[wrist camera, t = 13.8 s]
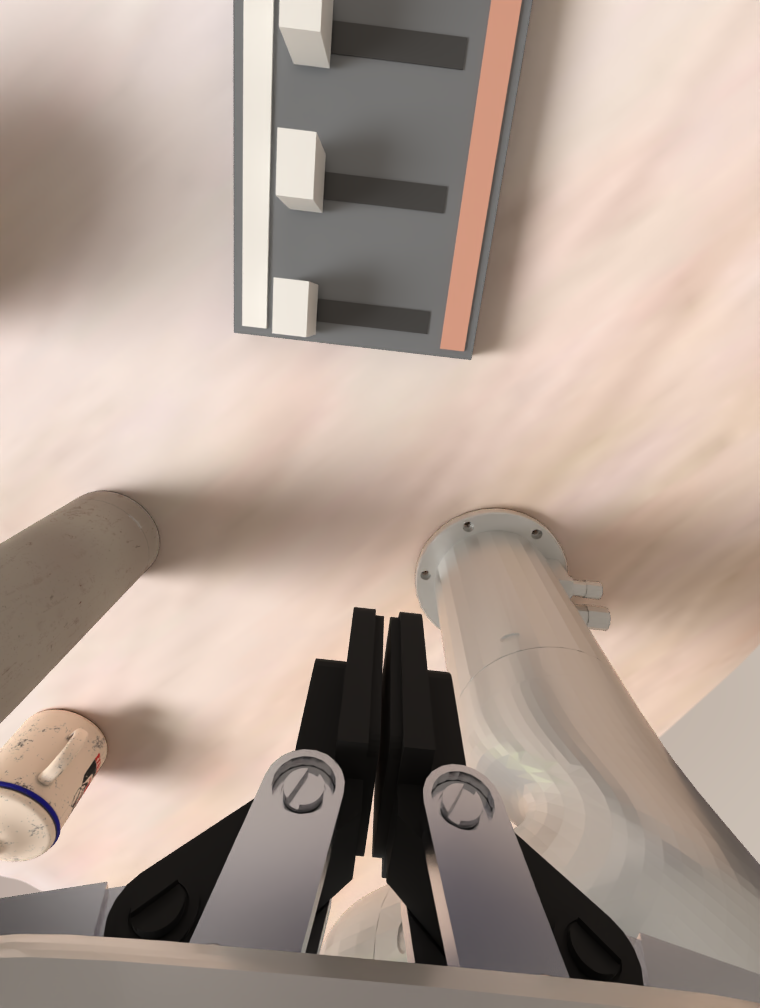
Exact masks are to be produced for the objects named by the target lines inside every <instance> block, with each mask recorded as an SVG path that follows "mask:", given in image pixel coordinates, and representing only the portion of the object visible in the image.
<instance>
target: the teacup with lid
mask: <svg viewBox="0 0 760 1008" xmlns="http://www.w3.org/2000/svg"><path fill="white" fill-rule="evenodd" d="M106 756H107V743H106V740H105V737H104V735H103V734H102V732H101V731H100V730H99V728H98V727H97V726H96V725H95V724H93V723H92V722H91V721H89V720H88V719H86V718H85V717H83V716H81V715H78V714H76V713H73V712H70V711H65V710H46V711H42V712H39V713H36V714H34V715H32V716H31V717H30V718H28V719H27V720H26V721H25V722H24V724H23V725H22V726H21V727H20V728H19V729H18V730H17V731H16V733H15V734H14V735H13V736H12V737H11V738H10V739H9V740H8V741H7V743H6V744H5V745H4V746H3V747H2V748H1V749H0V860H2V861H11V862H18V861H26V860H30V859H34V858H36V857H38V856H40V855H42V854H43V853H45V852H46V851H47V850H48V849H49V848H51V847H52V846H53V845H54V844H55V842H56V841H57V839H58V838H59V835H60V830H61V828H62V827H63V825H64V823H65V822H66V820H67V819H68V817H69V816H70V814H71V813H72V811H73V809H74V808H75V806H76V805H77V803H78V802H79V800H80V798H81V797H82V795H83V794H84V792H85V791H86V789H87V787H88V786H89V784H90V783H91V781H92V780H93V778H94V777H95V775H96V773H97V772H98V770H99V769H100V767H101V766H102V764H103V762H104V761H105V759H106Z"/></svg>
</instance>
